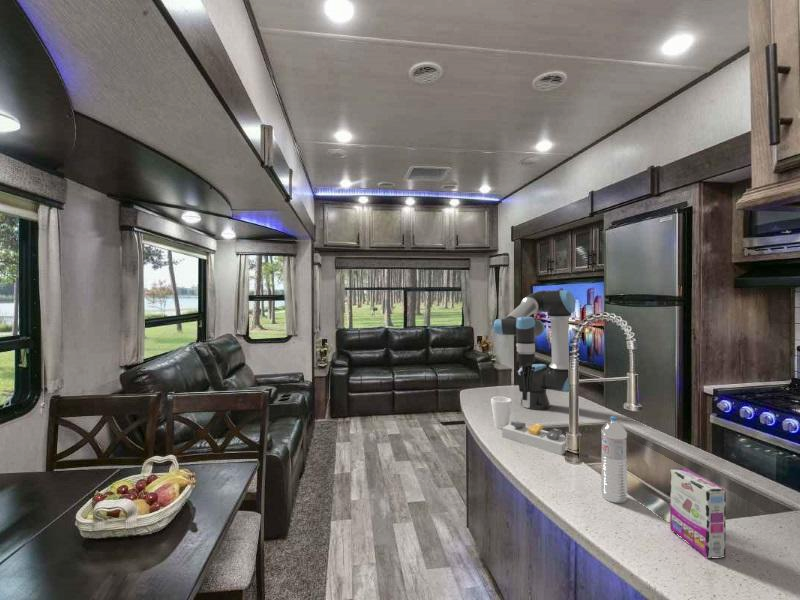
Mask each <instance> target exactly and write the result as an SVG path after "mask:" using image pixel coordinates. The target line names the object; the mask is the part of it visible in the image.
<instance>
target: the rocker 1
mask: <svg viewBox="0 0 800 600" xmlns="http://www.w3.org/2000/svg"><path fill="white" fill-rule="evenodd" d="M510 422H511V423H510V424H511V425H512V426H516V427H525V425H526V423H525V422H522V421H510Z"/></svg>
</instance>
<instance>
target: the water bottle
mask: <svg viewBox="0 0 800 600" xmlns="http://www.w3.org/2000/svg"><path fill="white" fill-rule="evenodd" d="M609 418H610V421H608V422H607V423H605V424H604V425H603V426H602V427H601V429H600V433H601V455H600V459H601V460H600V462H601V466H600V470H601V471H600V472H601V473H600V474H601V476H600V477H601V482H600V483H601V484H600V485H601V486H600V487H601V496H602V498H604V500H606V501H609V502H610V503H614V504H624V503H626V502H627V499H628V482H627V481H628V456H627V438H628V432H627V430H626V429H625V428H624V427H623V425H622V424H620V423H619V422H618V417H617V416H615V415H612V416H610V417H609Z"/></svg>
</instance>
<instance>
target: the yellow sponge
mask: <svg viewBox="0 0 800 600" xmlns="http://www.w3.org/2000/svg"><path fill="white" fill-rule="evenodd" d="M529 427H530V428H529V429H528V433H532V434H535V435H537V434H538V433H539V432H540V431H541V430H544V425H543V424H539V423H535V422H534V423H533V424H532V425H531V426H529Z"/></svg>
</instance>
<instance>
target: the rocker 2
mask: <svg viewBox="0 0 800 600" xmlns="http://www.w3.org/2000/svg"><path fill="white" fill-rule="evenodd" d="M548 432H549V433H548V434H547V438H550V439H553V440H556V439H557V438H558V437H559V436H560V435H563V431H562V429H559V428H554V427H551V429H550V431H548Z"/></svg>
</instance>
